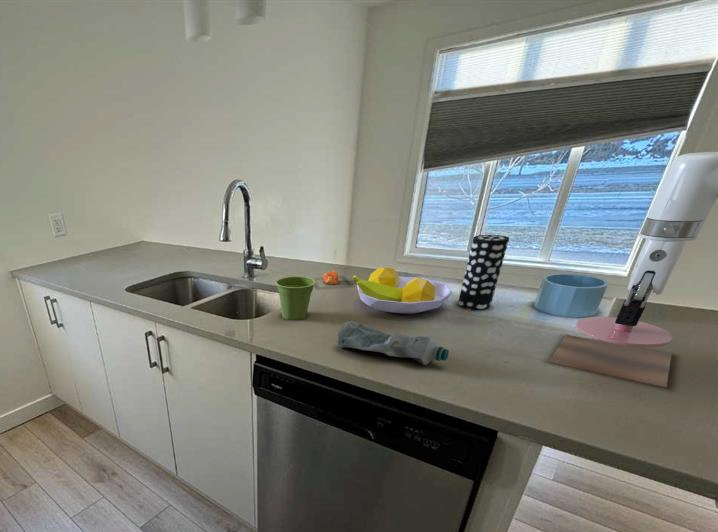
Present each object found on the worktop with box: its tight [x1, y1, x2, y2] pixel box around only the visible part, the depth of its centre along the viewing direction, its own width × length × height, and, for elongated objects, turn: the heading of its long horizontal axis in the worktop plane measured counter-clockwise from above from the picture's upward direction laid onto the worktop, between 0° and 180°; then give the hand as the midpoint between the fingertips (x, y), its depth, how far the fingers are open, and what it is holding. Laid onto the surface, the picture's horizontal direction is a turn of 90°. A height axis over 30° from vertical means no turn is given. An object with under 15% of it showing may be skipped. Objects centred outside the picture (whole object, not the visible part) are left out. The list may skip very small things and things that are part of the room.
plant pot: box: [275, 275, 317, 321], centre depth 123 cm, size 12×12×11 cm
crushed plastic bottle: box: [337, 320, 450, 366], centre depth 97 cm, size 13×7×25 cm
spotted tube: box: [457, 234, 510, 312], centre depth 116 cm, size 8×8×20 cm
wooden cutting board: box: [548, 334, 673, 389], centre depth 88 cm, size 18×18×1 cm
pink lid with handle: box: [575, 295, 673, 348], centre depth 83 cm, size 15×15×8 cm
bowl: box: [533, 273, 610, 318], centre depth 111 cm, size 14×14×8 cm
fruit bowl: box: [352, 266, 454, 315], centre depth 123 cm, size 28×27×11 cm
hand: (626, 321), depth 84 cm, fingers closed on pink lid with handle, 2 cm apart
